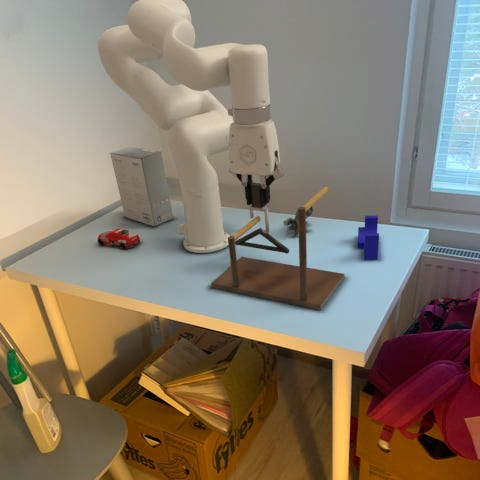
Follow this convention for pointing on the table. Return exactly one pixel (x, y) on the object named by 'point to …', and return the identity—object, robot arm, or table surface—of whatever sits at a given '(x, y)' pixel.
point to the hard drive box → (142, 185)
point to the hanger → (242, 241)
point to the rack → (280, 272)
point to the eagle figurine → (296, 221)
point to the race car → (119, 238)
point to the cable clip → (369, 238)
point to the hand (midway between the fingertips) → (258, 203)
